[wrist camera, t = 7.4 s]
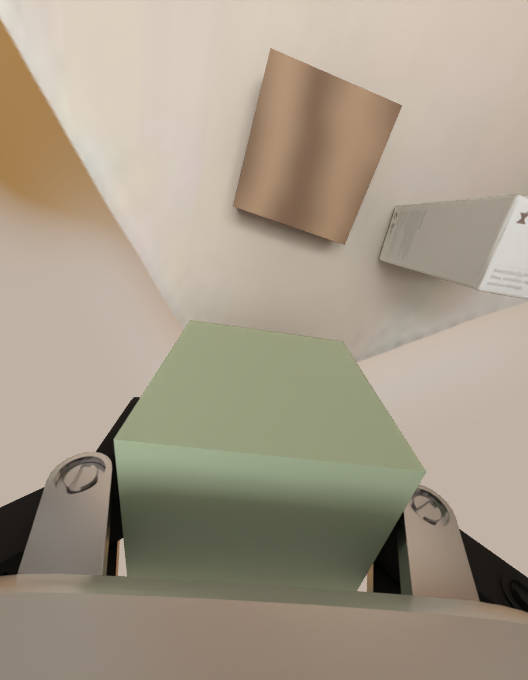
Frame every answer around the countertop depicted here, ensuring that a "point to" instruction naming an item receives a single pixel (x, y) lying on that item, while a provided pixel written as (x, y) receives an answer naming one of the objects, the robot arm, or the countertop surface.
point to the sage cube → (260, 464)
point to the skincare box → (464, 242)
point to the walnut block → (312, 148)
